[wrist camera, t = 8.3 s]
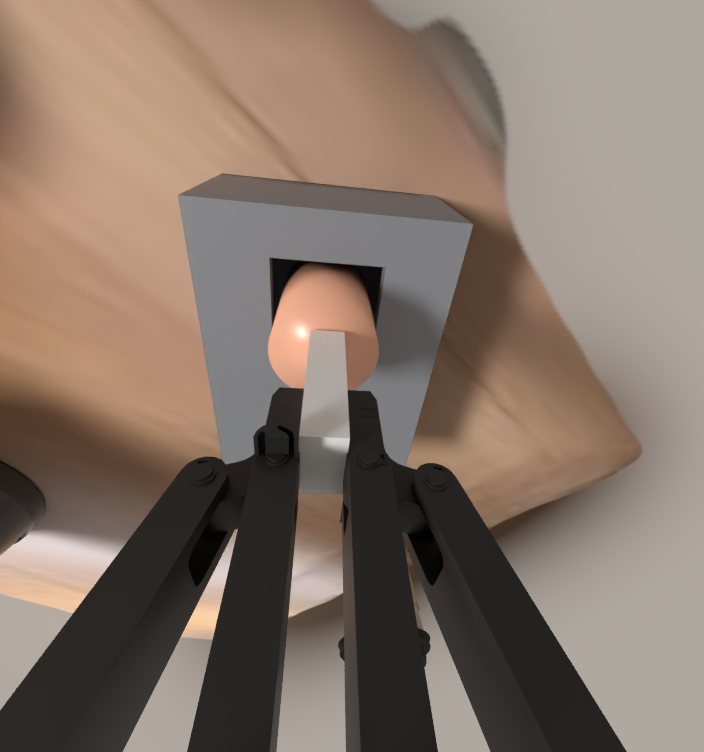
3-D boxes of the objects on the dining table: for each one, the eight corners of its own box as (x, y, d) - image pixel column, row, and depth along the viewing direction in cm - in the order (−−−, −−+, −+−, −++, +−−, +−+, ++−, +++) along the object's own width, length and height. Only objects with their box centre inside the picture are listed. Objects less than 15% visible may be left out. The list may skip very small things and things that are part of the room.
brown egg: (361, 333, 24) (371, 399, 18) (284, 328, 24) (269, 394, 18) (371, 256, 21) (386, 307, 15) (283, 249, 21) (265, 298, 15)
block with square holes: (386, 423, 36) (398, 489, 30) (246, 417, 35) (226, 485, 28) (435, 195, 24) (473, 224, 17) (222, 173, 23) (178, 195, 16)
